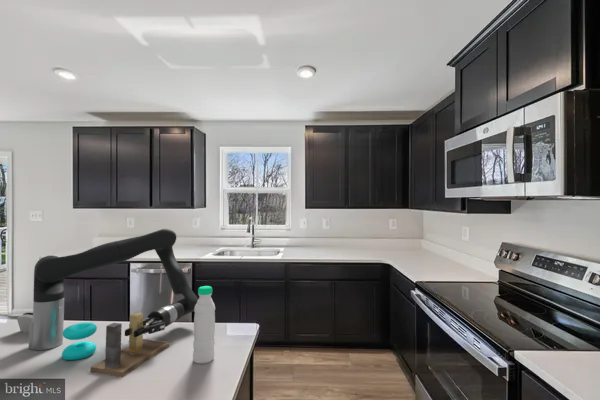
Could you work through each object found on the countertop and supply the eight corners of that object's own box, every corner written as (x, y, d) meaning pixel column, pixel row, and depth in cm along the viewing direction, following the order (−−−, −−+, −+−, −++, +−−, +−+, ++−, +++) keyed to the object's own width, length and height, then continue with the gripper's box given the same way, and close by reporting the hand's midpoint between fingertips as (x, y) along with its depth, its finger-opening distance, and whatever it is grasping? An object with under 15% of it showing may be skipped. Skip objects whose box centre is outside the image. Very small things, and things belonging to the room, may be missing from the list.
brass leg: (135, 349, 114) (136, 312, 114) (142, 350, 113) (143, 313, 114) (128, 352, 111) (129, 315, 112) (136, 353, 110) (137, 315, 111)
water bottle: (218, 356, 113) (219, 285, 114) (206, 366, 106) (207, 290, 107) (201, 353, 115) (203, 283, 116) (188, 362, 109) (190, 288, 109)
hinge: (61, 331, 133) (53, 311, 130) (50, 340, 129) (41, 319, 126) (33, 326, 138) (25, 307, 135) (21, 334, 134) (13, 314, 131)
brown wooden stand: (142, 342, 124) (143, 304, 124) (169, 346, 121) (170, 307, 121) (90, 371, 101) (92, 325, 102) (122, 377, 99) (123, 329, 99)
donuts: (83, 320, 120) (103, 323, 117) (82, 347, 119) (102, 351, 116) (55, 329, 110) (77, 333, 107) (54, 359, 110) (76, 363, 107)
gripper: (147, 306, 128) (113, 320, 111) (178, 309, 125) (148, 324, 108) (147, 325, 128) (112, 342, 111) (178, 328, 125) (147, 347, 108)
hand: (130, 333), depth 110 cm, fingers closed on brass leg, 3 cm apart
